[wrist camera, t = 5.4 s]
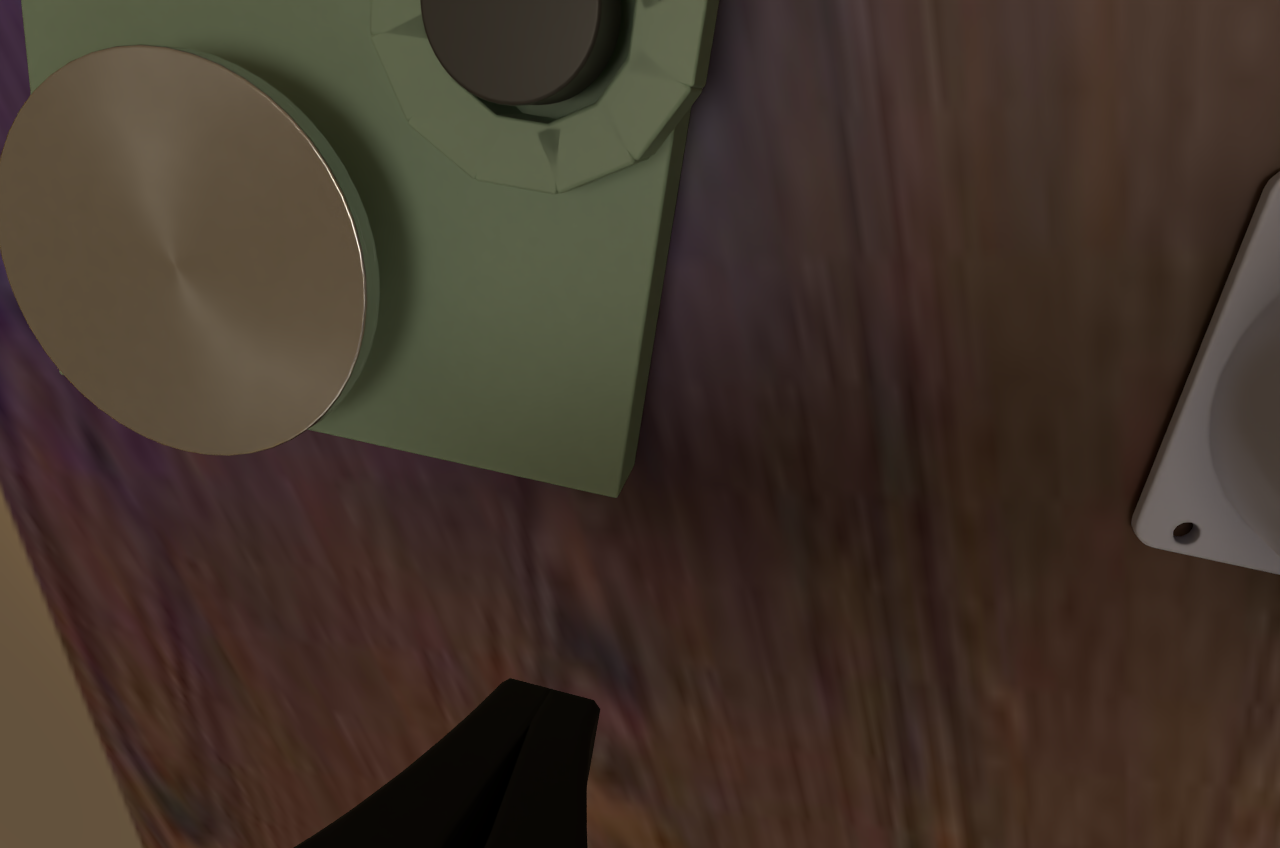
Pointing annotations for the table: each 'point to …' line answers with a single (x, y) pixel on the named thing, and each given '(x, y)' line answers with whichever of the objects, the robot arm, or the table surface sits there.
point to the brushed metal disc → (187, 248)
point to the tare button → (523, 46)
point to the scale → (470, 215)
